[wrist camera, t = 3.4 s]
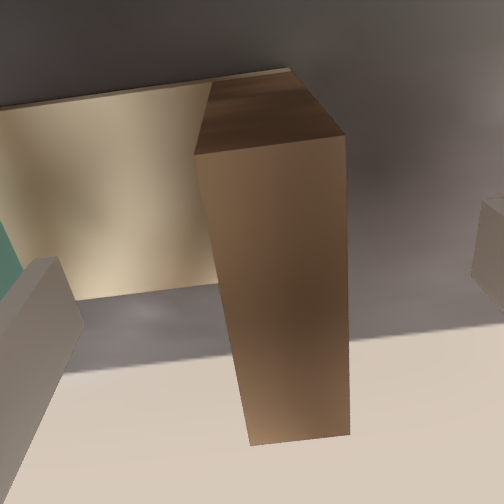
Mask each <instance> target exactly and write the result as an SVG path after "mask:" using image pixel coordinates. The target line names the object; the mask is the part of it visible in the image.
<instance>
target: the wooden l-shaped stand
mask: <svg viewBox="0 0 504 504" xmlns="http://www.w3.org/2000/svg"><path fill="white" fill-rule="evenodd" d="M0 220H1V222H2V224H3V227H4V229H5V231H6V233H7V235H8V238H9V240H10V242H11V244H12V246H13V248H14V251H15V253H16V255H17V257H18V259H19V261H20V264H21V266H22V268H23V270H25V269H26V268H27V266H28V265H29V264H30V263H31V261H32V260H33V259H35V258H43V257H51V256H58V258H59V260H60V263H61V265H62V268H63V270H64V273H65V275H66V278H67V280H68V283H69V285H70V288H71V290H72V293H73V295H74V298H75V300H76V301H77V300H85V299H93V298H101V297H109V296H117V295H125V294H133V293H141V292H149V291H157V290H166V289H174V288H182V287H190V286H198V285H206V284H214V283H219V288H220V294H221V299H222V304H223V309H224V314H225V319H226V324H227V329H228V334H229V340H230V345H231V350H232V355H233V359H234V365H235V370H236V375H237V380H238V385H239V391H240V396H241V401H242V406H243V411H244V416H245V421H246V426H247V431H248V437H249V442H250V446H255V445H264V444H272V443H282V442H291V441H300V440H308V439H317V438H325V437H335V436H344V435H350V394H349V393H350V389H349V320H348V252H347V185H346V135H345V134H344V132H343V131H342V130H341V129H340V128H339V127H338V125H337V124H336V123H335V122H334V121H333V119H332V118H331V117H330V116H329V115H328V114H327V112H326V111H325V110H324V109H323V108H322V106H321V105H320V104H319V103H318V102H317V100H316V99H315V98H314V97H313V96H312V95H311V93H310V92H309V91H308V90H307V89H306V87H305V86H304V85H303V84H302V83H301V81H300V80H299V79H298V78H297V77H296V76H295V74H294V73H293V72H292V71H291V70H290V68H281V69H274V70H267V71H260V72H252V73H245V74H238V75H231V76H223V77H216V78H209V79H202V80H194V81H187V82H180V83H173V84H165V85H158V86H151V87H144V88H136V89H129V90H122V91H114V92H107V93H100V94H93V95H85V96H78V97H71V98H64V99H56V100H49V101H42V102H35V103H27V104H20V105H13V106H6V107H0Z"/></svg>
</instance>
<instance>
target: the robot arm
mask: <svg viewBox="0 0 504 504" xmlns="http://www.w3.org/2000/svg"><path fill="white" fill-rule="evenodd" d="M471 277H472V278H473V279H474V280H475V281H476V283H477V284H478V285H479V286H480V287H481V288H482V289H483V290H484V291H485V293H486V294H487V295H488V296H489V297H490V298H491V299H492V300H493V301H494V302H495V304H496V305H497V306H498V307H499V308H500V309H501V310H502V311H503V312H504V197H503V198H495V199H487V200H482V203H481V210H480V217H479V224H478V231H477V237H476V244H475V251H474V258H473V265H472V272H471ZM84 327H85V323H84V321H83V318H82V316H81V313H80V311H79V308H78V306H77V303H76V300H75V298H74V295H73V293H72V290H71V288H70V285H69V283H68V280H67V278H66V275H65V273H64V270H63V268H62V265H61V263H60V260H59V258H58V256H51V257H43V258H35V259H33V260H32V261H31V263H30V264H29V265H28V266H27V268H26V269H25V270H24V271H23V273H22V274H21V275H20V276H19V278H18V279H17V280H16V282H15V283H14V284H13V285H12V287H11V288H10V289H9V290H8V292H7V293H6V294H5V295H4V297H3V298H2V299H1V301H0V504H3V503H4V500H5V498H6V496H7V494H8V492H9V489H10V487H11V485H12V483H13V481H14V479H15V477H16V474H17V472H18V470H19V468H20V466H21V464H22V461H23V459H24V457H25V455H26V452H27V450H28V448H29V446H30V444H31V442H32V440H33V437H34V435H35V433H36V431H37V429H38V427H39V424H40V422H41V420H42V418H43V416H44V414H45V411H46V409H47V407H48V405H49V402H50V400H51V398H52V396H53V394H54V392H55V390H56V387H57V385H58V383H59V381H60V379H61V377H62V374H63V372H64V370H65V368H66V366H67V364H68V361H69V359H70V357H71V355H72V353H73V351H74V348H75V346H76V344H77V342H78V340H79V338H80V335H81V333H82V331H83V329H84Z"/></svg>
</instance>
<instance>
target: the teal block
mask: <svg viewBox="0 0 504 504" xmlns="http://www.w3.org/2000/svg"><path fill="white" fill-rule="evenodd" d="M23 271H24V270H23V268H22V266H21V264H20V261H19V259H18V257H17V255H16V253H15V251H14V248H13V246H12V244H11V242H10V240H9V238H8V235H7V233H6V231H5V229H4V227H3V224H2V222H1V220H0V301H1V299H2V298H3V297H4V295H5V294H6V293H7V292H8V290H9V289H10V288H11V287H12V285H13V284H14V283H15V282H16V280H17V279H18V278H19V276H20V275H21V274H22V273H23Z"/></svg>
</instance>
